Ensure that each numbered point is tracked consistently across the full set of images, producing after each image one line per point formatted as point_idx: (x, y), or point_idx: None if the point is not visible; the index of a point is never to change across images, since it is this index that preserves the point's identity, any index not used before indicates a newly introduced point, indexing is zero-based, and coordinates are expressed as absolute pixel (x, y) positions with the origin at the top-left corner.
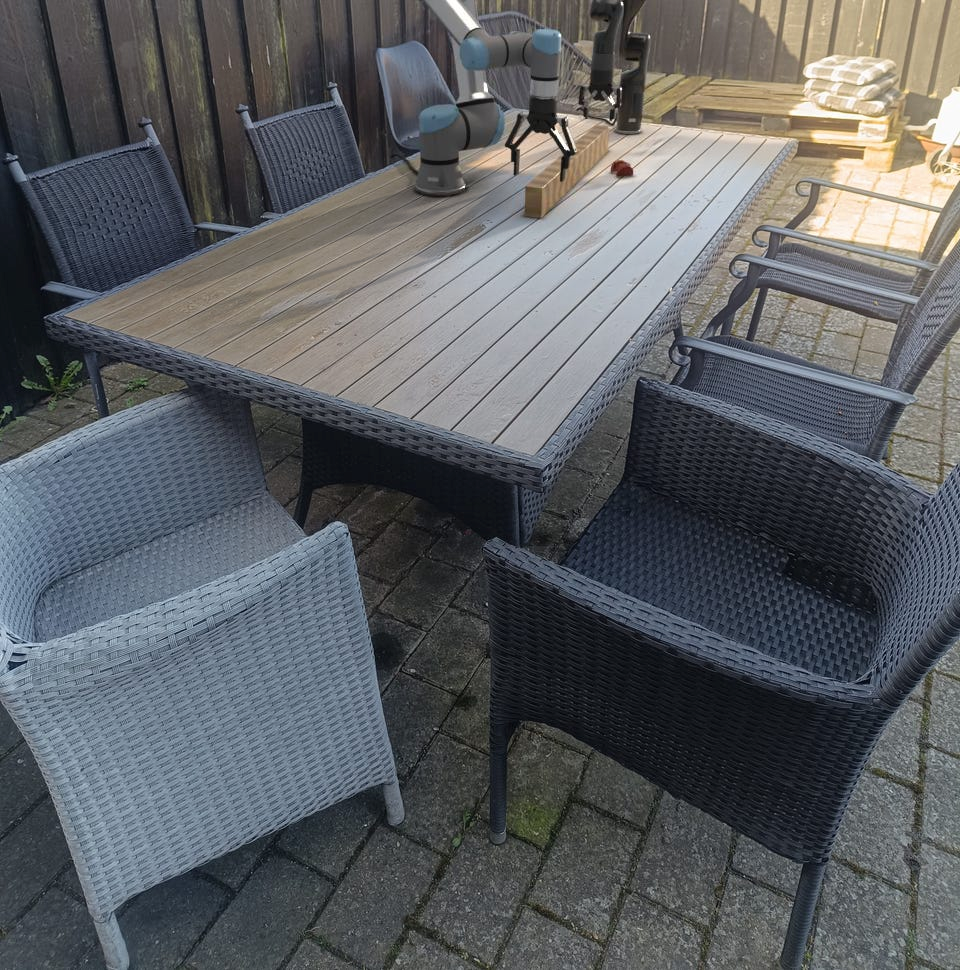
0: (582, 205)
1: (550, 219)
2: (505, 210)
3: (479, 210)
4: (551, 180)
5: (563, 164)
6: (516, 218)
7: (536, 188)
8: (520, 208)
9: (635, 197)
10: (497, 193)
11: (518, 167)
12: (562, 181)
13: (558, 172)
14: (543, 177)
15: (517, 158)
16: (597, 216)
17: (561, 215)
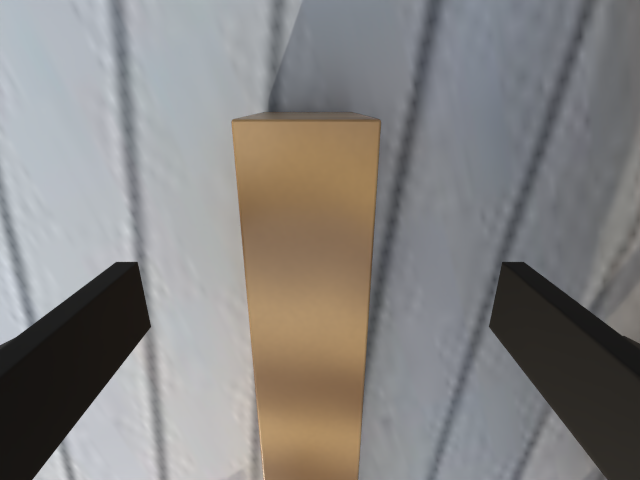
0: (168, 343)
1: (215, 116)
2: (464, 170)
3: (592, 123)
4: (250, 332)
5: (3, 349)
6: (383, 65)
7: (283, 118)
8: (401, 222)
9: (40, 470)
10: None
11: (516, 340)
12: (116, 267)
13: (267, 462)
14: (317, 362)
15: (589, 370)
16: (40, 238)
17: (192, 194)
